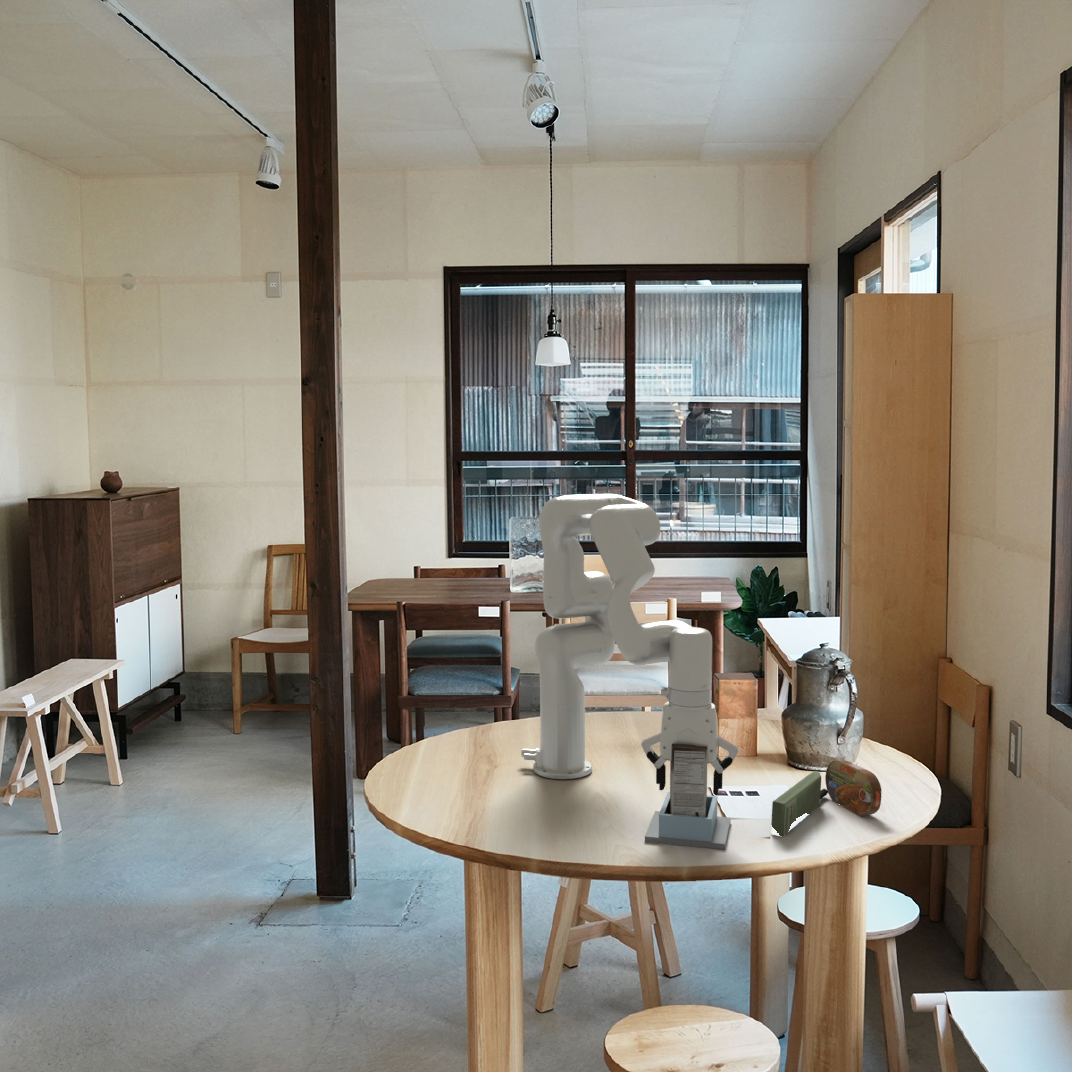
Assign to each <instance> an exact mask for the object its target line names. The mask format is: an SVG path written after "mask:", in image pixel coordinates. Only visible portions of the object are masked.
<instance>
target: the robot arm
mask: <svg viewBox="0 0 1072 1072" xmlns="http://www.w3.org/2000/svg"><path fill="white" fill-rule="evenodd" d="M538 524H539V525H538V527H539V528H538V529H539V534H540V540H541V545H542V551H543V575H542V576H543V579H542V581H543V584H542V585H543V586H542V587H543V593H542V596H543V607H544V610H545V612H546V614H547V615H548V617H551V618H553V619H559V620H563V619H564V620H565V619H575V618H576V619H577V618H584V620H585V621H581V622H567V623H562V624H555V625H550V626H547V627H546V628H544V629H542V630H541V631H540V632H539V633H538V635H537V636H536V639H535V641H534V642H535V644H534V646H535V654H536V655H535V656H536V659H537V666H538V674H539V697H540V698H539V701H540V702H539V704H540V705H539V706H540V709H539V711H540V715H539V718H540V723H539V725H540V726H539V727H540V729H539V730H540V731H539V732H540V734H539V735H540V736H539V737H540V745H539V746H540V747H536V749H533V748H527V747H526V748H525V747H523V748H522V749H521V752H520V753H521V757H522V758H523V759H524V761H534V763H533V768H532V769H533V773H535V774H536V775H538V776H539V777H543V778H548V779H553V780H574V779H579V778H583V777H586V776H588V775H589V774H591V773H592V771H593V765H592V763H591V762H590V761H588V760H586V691H585V686H584V684H583V682H582V680H581V679H580V677H579V675H578V674H577V672H576V669H580V668H585V667H592V666H598V665H602V664H603V665H604V664H605V663H607V662H608V661H610V660H611V658H612V657H613V655H614V651H615V647H616V645H617V648H618V650H619V652H620V653H621V655H622V657H623V658H624V659H625V660H626V661H627V662H628V663H629V664H632V665H634V666H645V665H646V666H647V665H652V664H659V663H668V662H669V663H668V665H669V668H668V669H669V670H668V671H669V672H668V673H669V674H668V681H669V682H668V686H667V688H661V689H660V696H661V697H664V698H666V699H667V700H668V701H667V702H665V703H664V705H663V711H662V716H661V726H660V733H657V734H655V735H652V736H650V737H648V738H645V739H643V740H642V742H641V744H640V745H641V747H642V749H643V752H644V753H645V755H646V758H647V759H648V760H649V761H650V762H651V763H652V765H653V767H654V768H655V772H656V774H655V775H656V776H655V777H656V778H655V782H656V785H658V786H659V789H658V790H659V791H663V790H664V789H665V788H666V782H667V781H666V777H667V776H666V774H667V773H666V772H667V771H666V770H667V766H666V765H665V763H666V762H667V761H671V752H672V744H689V745H696V746H704V747H707V748H708V750H707V764H710V765H711V766H712V767H713V769H714V771H713V782H712V783H713V790H712V791H713V792H712V794H713V796H718V795H719V790H723V775H724V771H725V770H726V769H727V768H729V767H730V766H731V765H732V764H733V762H734V760H735V759H736V757H737V755H738V753H739V747H738V746H737V745H735V744H734V743H731V742H730V741H728V740H726V739H725V738H723V737H721V736H719V725H718V724H719V723H718V715H717V711H716V705H715V704H714V703H713V702H712V694H713V693H712V689H713V688H712V687H713V686H712V685H713V683H712V682H713V680H712V679H713V637H712V634H711V632H710V631H709V630H708V629H706V628H702V627H697V626H693V625H690V624H689V623H686V622H685V621H682V620H680V619H679V620H678V619H669V620H657V621H649V622H642V623H641V622H638V620H637V618H636V615H635V613H634V611H633V609H632V606H631V594H632V593H633V592H635V591H637V590H639V589H640V588H642V587H643V586H644V585H646V584H647V583H648V582H649V581H650V580H651V579H652V578H653V576H654V574H655V572H656V571H655V569H656V567H655V564H654V563H653V561H652V559H651V557H650V554H649V553H648V551H647V548H646V546H649V545H652V544H654V543H655V542H656V541H658V539H659V537H660V534H661V521H660V518H659V516H658V514H657V513H656V511H655V510H654V509H653V507H651V506H650V505H648V504H646V503H644V502H642V501H639V500H635V499H632V498H630V497H626V496H623V495H622V494H621V495H620V494H616V493H593V494H591V493H589V494H587V493H585V494H584V493H583V494H580V493H579V494H566V495H560V496H555V497H553V498H551V499H549V500H548V501H547V502H545V504H544V505H543V506H542V508H541V511H540V514H539V521H538ZM579 536H580V537H582V536H583V537H584V536H591V537H592V540H593V542H594V543H595V547H596V548H597V551H598V553H599V555H600V557H601V559H602V562H603V565H604V566H605V568H606V570H607V573H608V575H609V576H608V575H607V574H606V573H605V572H602V571H595V570H592V571H585V553H584V550H583V547H582V546H581V544H580V542H579V540H578V539H577V538H576V537H579ZM658 743H659V744H660V745H659V753H660V754H659V755H658V754H657V753H656V752H655V751H654V750H653V748H652V746H653V745H657V744H658ZM719 747H720V748H721V749H723V750H724V751H727V752H728V754H727V756H726V757H725V758H723V759H722V760H721V758H720V757H719V755H718V754H719Z"/></svg>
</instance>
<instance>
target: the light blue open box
mask: <svg viewBox="0 0 1072 1072" xmlns="http://www.w3.org/2000/svg"><path fill="white" fill-rule="evenodd" d="M718 799H719V798H718V795H710V794H709V795H708V794H707V809H706V817H696V816H685V815H673V814H670V791H668V792H667V793H666V795H665V797H664V801H663V803H662V805H661V809H660V810H659V811H658V810H655V811H654V813H653V815H652V818H651V821H650V823H649V825H648V828H647V829H646V832H645V835H644V843H652V844H662V845H672V846H673V845H674V846H684V847H692V848H693V847H695V848H703V849H704V848H705V849H706V848H707V849H713V850H714V849H718V850H724V851H725V850H726V847H727V841H728V836H729V833H730V827H731V817H728V816H727V817H726V816H718Z"/></svg>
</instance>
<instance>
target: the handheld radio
mask: <svg viewBox="0 0 1072 1072" xmlns="http://www.w3.org/2000/svg"><path fill="white" fill-rule="evenodd" d="M827 795H829V794H828V791H827V788H822V775H821V772H820V771H816V770H813V771H812V772H811V773H809V774H808V775H806V776H805V777H803V778H802V779H801V780H800V781H797V783H795V784H794V785H793V786H792V787H790V788H789V789H788V790H786V791H784V792H783V793H782V794H781V795H779V796H778V797H777V798H776V799H774V800H773V801H772V804H771V805H772V806H771V824H770V826H771V825H772V827H773V828H774V829H775V830H776V831H777V833H779V835H780V836H782V837H781V838H783V836H784V835H785V836H786V835H788V834H789V833H788V831H789V829H790V826H791V824H792V823H793V822H794V821H796V818H798V817H800V816H802V815H803V814H805V813H807V814H810V815H812V814H813V813H814V812H815V811H816V810H817V809H819V808H820V806H821V805H820V804H821V800H822V799H824V797H826V796H827ZM787 833H788V834H787ZM785 836H784V837H785Z"/></svg>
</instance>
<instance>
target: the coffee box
mask: <svg viewBox="0 0 1072 1072" xmlns="http://www.w3.org/2000/svg"><path fill="white" fill-rule="evenodd" d="M707 750H708V748H707V747H704V746H696V745H689V744H672V752H671V761H670V764H669V765H670V767H669V769H670V772H669V773H670V774H669V783H670V784H669V792H670V814H673V815H685V816H696V817H706V809H707V795H708V794H707V793H708V763H707Z"/></svg>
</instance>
